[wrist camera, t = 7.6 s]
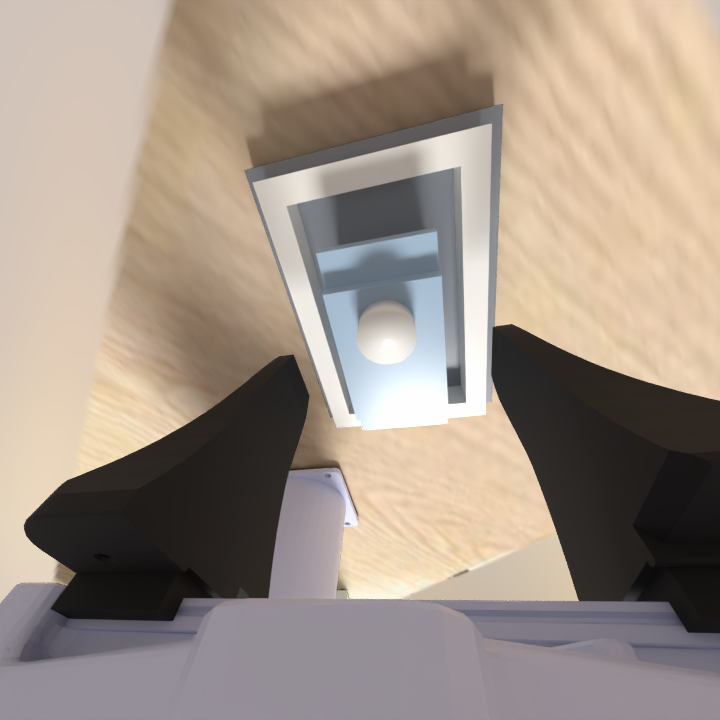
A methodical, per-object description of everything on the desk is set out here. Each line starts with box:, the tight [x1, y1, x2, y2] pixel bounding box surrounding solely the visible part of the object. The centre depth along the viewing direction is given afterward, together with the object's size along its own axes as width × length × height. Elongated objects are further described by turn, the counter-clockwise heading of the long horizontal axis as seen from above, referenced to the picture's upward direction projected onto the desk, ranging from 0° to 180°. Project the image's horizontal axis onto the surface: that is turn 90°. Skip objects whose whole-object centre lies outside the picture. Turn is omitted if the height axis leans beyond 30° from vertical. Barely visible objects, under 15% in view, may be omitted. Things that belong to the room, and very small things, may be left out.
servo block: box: [316, 228, 449, 430], centre depth 13 cm, size 4×8×6 cm, turn 11°
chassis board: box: [244, 104, 503, 428], centre depth 15 cm, size 10×14×2 cm
